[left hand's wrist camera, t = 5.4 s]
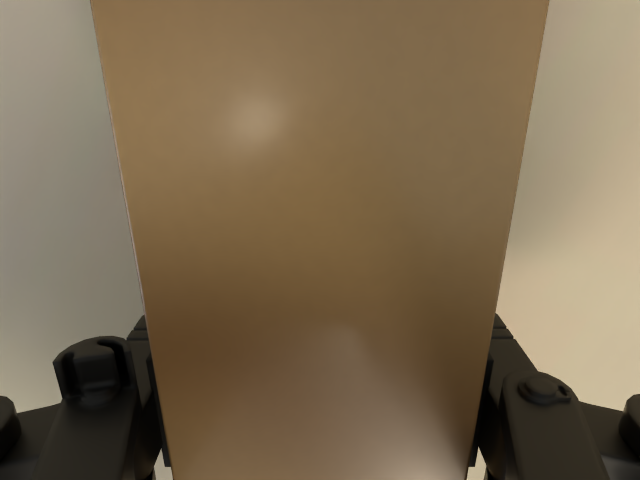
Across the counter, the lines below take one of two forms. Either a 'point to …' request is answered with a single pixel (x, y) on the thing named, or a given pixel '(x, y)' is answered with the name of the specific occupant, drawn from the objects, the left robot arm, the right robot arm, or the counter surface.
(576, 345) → the counter surface
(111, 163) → the counter surface
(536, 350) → the counter surface
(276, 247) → the bar
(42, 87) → the counter surface
